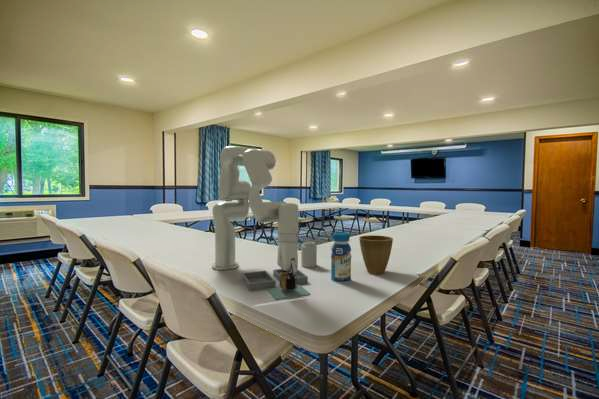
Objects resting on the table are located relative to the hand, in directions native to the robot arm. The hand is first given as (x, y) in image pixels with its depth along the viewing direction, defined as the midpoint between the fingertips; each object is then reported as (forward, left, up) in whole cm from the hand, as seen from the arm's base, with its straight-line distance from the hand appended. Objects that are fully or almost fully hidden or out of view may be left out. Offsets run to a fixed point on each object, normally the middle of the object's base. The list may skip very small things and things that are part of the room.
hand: (288, 285), depth 104 cm
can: (-29, +21, -3) cm, 36 cm away
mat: (0, 0, -3) cm, 3 cm away
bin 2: (-13, +6, -3) cm, 15 cm away
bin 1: (-13, -8, -3) cm, 16 cm away
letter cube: (0, 0, -1) cm, 1 cm away
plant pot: (-10, +46, -3) cm, 47 cm away
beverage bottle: (-5, +25, -3) cm, 26 cm away
